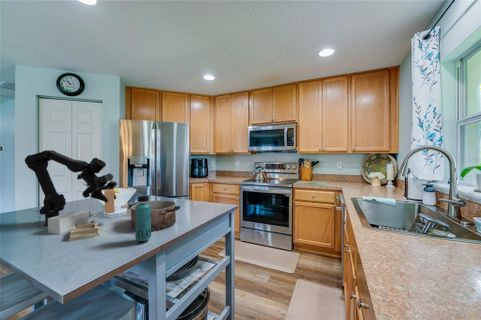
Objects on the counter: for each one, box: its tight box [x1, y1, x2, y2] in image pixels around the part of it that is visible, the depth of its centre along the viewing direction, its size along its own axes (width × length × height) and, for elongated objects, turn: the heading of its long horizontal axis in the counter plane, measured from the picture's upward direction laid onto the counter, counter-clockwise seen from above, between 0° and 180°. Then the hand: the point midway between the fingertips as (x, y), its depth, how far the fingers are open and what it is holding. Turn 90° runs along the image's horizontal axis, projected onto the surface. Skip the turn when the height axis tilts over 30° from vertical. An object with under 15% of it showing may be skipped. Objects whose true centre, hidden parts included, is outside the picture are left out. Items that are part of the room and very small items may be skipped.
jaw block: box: [103, 188, 115, 215], centre depth 107 cm, size 4×4×12 cm
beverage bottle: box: [134, 195, 153, 242], centre depth 88 cm, size 6×7×20 cm
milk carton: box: [47, 209, 95, 235], centre depth 105 cm, size 7×7×19 cm
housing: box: [68, 220, 100, 242], centre depth 96 cm, size 14×11×4 cm
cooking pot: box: [128, 199, 181, 232], centre depth 109 cm, size 30×22×11 cm
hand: (111, 200), depth 107 cm, fingers closed on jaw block, 6 cm apart
